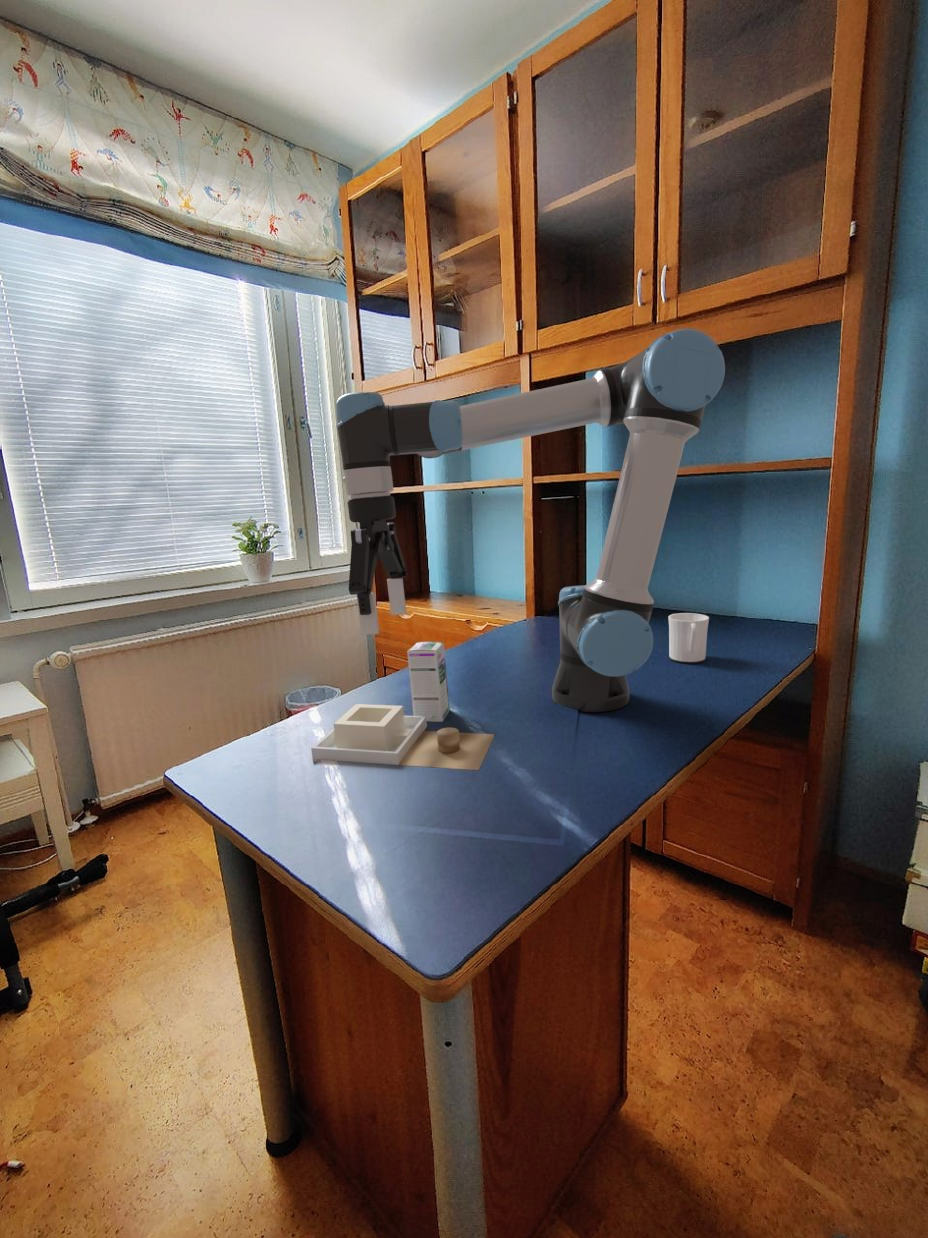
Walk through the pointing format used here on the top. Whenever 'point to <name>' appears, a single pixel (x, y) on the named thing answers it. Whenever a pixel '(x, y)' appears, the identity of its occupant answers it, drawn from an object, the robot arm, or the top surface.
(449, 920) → the top surface
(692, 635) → the mug
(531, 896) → the top surface
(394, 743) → the cream hollow block
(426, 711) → the syrup box
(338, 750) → the tray
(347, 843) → the top surface
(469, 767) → the tan square lid
